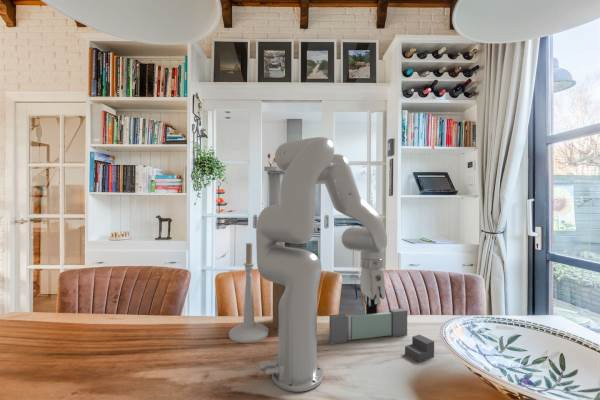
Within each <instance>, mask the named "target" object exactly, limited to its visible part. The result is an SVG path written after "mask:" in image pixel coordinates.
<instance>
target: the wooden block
mask: <svg viewBox="0 0 600 400" xmlns="http://www.w3.org/2000/svg"><path fill="white" fill-rule="evenodd" d="M285 289H286V286H284V285H282V284H278V283H274V282H272V328H273V329H274V330H279V302H280V299H281V297H282V295H283V294H284V292H285Z"/></svg>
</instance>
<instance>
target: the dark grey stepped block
mask: <svg viewBox="0 0 600 400" xmlns="http://www.w3.org/2000/svg"><path fill="white" fill-rule="evenodd" d="M411 338H412V339H411V340H412V341H411V342H412V343H411V344H408V345H405V346H404V354H405V356H408V357H409V358H411V359H413V360H414V361H416V362H418V363H421V362H424V361H427V360H429V359H432V358H434V357H435V341H434V340H433V339H430V338H428V337H427V336H423V335H422V334H417V335H413V336H412V337H411Z"/></svg>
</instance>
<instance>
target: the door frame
mask: <svg viewBox="0 0 600 400" xmlns="http://www.w3.org/2000/svg"><path fill="white" fill-rule="evenodd" d="M389 312H390V313H391V335H390V336H392V337H393V338H395V337H403V336H408V310H407V309H405V308H404V307H403V308H395V309H394V308H393V309H389ZM347 316H348V315H346V314H345V313H339V314H330V315H329V330H328V331H329V333H328V334H329V339H328V340H329V343H330V344H331V345H333V344H342V343H347V342H348V340H347Z"/></svg>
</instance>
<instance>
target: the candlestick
mask: <svg viewBox="0 0 600 400" xmlns="http://www.w3.org/2000/svg"><path fill="white" fill-rule="evenodd" d="M243 265H244V270H245V271H246V274H245V286H244V287H245V289H244V304H243V305H244V306H243V308H244V309H243V321H242V323H239V324H237V325H235V326H233V327H232V328H231V329H230V330H229V331H228V337H229V339H230V340H232V341H233V342H236V343H240V344H243V343H244V344H248V343H255V342H256V343H257V342H259V341H261V340H264V339H265V338H267V337H268V335H269V328H268V327H267V326H266V325H265V324H263V323H259V322H257V321H256V322H255V312H254V311H255V310H254V309H255V308H254V290H253V289H254V287H253V284H254V283H253V274H252V272H253V269H254V265H255V263H254V262H253V243H252V242H246V243H245V263H243Z"/></svg>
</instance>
